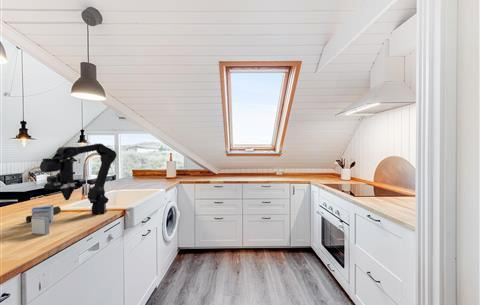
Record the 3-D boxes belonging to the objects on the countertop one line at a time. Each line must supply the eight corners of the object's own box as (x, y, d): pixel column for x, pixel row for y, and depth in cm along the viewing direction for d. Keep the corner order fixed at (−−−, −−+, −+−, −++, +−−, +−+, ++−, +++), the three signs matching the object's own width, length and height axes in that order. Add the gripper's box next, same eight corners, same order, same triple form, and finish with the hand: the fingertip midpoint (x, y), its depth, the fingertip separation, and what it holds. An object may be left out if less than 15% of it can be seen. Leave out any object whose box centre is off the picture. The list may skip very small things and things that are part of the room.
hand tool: (31, 223, 117) (31, 214, 117) (25, 223, 117) (25, 214, 117) (64, 213, 136) (64, 205, 136) (58, 213, 136) (58, 205, 136)
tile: (35, 232, 102) (34, 216, 102) (49, 234, 101) (48, 217, 101) (31, 234, 101) (30, 218, 101) (45, 235, 99) (44, 218, 99)
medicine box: (31, 225, 113) (31, 208, 113) (34, 222, 117) (34, 206, 117) (51, 222, 117) (50, 206, 117) (53, 220, 121) (53, 204, 121)
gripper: (70, 169, 127) (70, 196, 127) (34, 172, 108) (35, 203, 109) (86, 169, 125) (87, 196, 125) (53, 172, 106) (53, 204, 107)
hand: (66, 200), depth 116 cm, fingers closed
